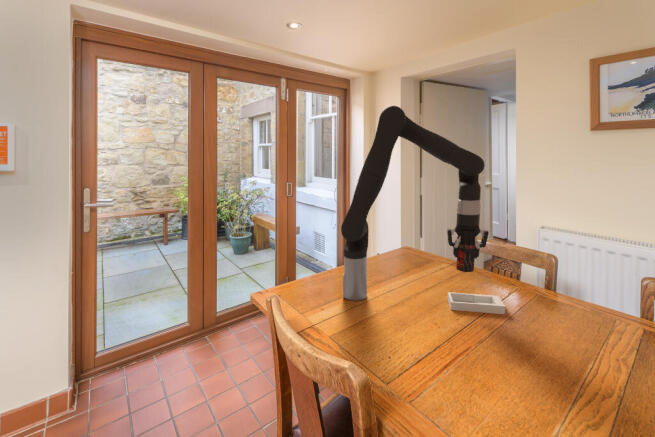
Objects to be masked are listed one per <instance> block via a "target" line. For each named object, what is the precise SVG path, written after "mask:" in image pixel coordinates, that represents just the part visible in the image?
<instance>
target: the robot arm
mask: <svg viewBox="0 0 655 437" xmlns="http://www.w3.org/2000/svg"><path fill="white" fill-rule="evenodd" d="M374 135H375V136H374V139H373V142H372V146H371V147H370V148H369V149H370V150H369V152H368V153H367V156H366V158H365V161H364V162H363V165H362V168H361V172H360V174H359V177H358V179H357V184H356V186H355V190H354V193H353V195H352V196H353V197H352V201H351V203H350V207H349V208H348V211H347V213H346V215H345V218H344V220H343V221H342V224H341V227H340V231H341V235H342V237H343V238H344V239H345V244H344V248H343V275H342V298H343V299H347V300H349V301H353V302H354V301H355V302H357V301H363V300H365V299H366V298H367V296H368V295H367V294H368V285H367V284H368V273H367V272H368V267H367V266H368V256H367V255H368V249H369V223H368V221H367V218H368V216H369V212H370V210H371V208H372V206H373V204H374V203H375V201H376V200H377V198H378V196H379V194H380V192H381V190H382V188H383V185H384V183H385V179H386V178H387V174H388V172H389V166H390V163H391V158H392V154H393V150H394V148H395V144H396V143H397V141H398V138H402V139H405V140H407V141H409V142H411V143H412V144H413V145H416V146H417V147H418V148H420V149H422V150H424V151H425V152H426V153H428V154H429V155H432V156H433V157H435V158H436V159H438V160H440V161H441V162H443V163H446V164H448V165H451V166H453V167H454V168H456V169H457V171H458V183H459V185H458V186H459V188H458V200H457V207H456V223H455V224H456V225H455V227H454V228H447V229H446V234H447V243H448V246H450V247H452V248H453V249H452V254H453V257H454V258H456V259H457V258H458V245H459V243H460V237H461V236H460V237H459V239H458V236H459V233H460V230H476V236H475V260H476V259H478V258H479V257H480V249H481V248H485V247H486V246H487V242H488V237H489V231H488V230H487V229H481V228H480V220H481V219H480V217H481V194H482V193H481V192H482V191H481V190H482V189H481V188H482V187H481V184H480V183H479V178H480V177H479V176H480V174H481V173H483V171H484V170H485V165H486V164H485V161H484V159H483V158H482V157H481V156H480V155H477V154H476V153H474V152H472V151H471V150H467V149H465V148H463V147H461V146H459V145H457V144H456V143H455V142H453V141H451V140H450V139H447V138H446V137H444V136H441V135H440V134H438V133H436V132H433V131H431V130H428V129H426V127H425V128H424V127H422V126H420V125H419V124H418V123H416V122H415V121H413V120H412V119H411V118H409V117H408V116H407V115H406V113H405V111H404V110H403V109H402V108H401V107H400V106H397V105H390V106H387V107H386V108H384V109H383V110H382V111H381V112H380V114H379V118H378V122H377V128H376V132H375V134H374ZM455 233H456V235H457V236H456V238H455V241H454V242H453V237H452V236H453V235H454V234H455ZM479 234H480V236H481V240H480V243H479V241H478V239H477V237H478V235H479Z"/></svg>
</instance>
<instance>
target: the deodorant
mask: <svg viewBox="0 0 655 437" xmlns="http://www.w3.org/2000/svg"><path fill="white" fill-rule="evenodd" d="M457 236H458V235H457ZM460 236H461V237H460ZM475 236H476V230H460V233H459V236H458V239H459V237H460V243H459V245H458V258H456V270H457V271H459V272H462V273H472V272H474V271H475V260H476V258H475ZM476 237H477V236H476Z"/></svg>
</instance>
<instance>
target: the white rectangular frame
mask: <svg viewBox="0 0 655 437" xmlns="http://www.w3.org/2000/svg"><path fill="white" fill-rule="evenodd" d="M447 301H448V305H449V309H450V310H451V311H461V312H471V313H472V312H473V313H484V314H485V313H486V314H498V315H505V314H506V305H505V303H504V302H503V301H502V299H501V297H500V295H491V294H478V293H477V294H476V293H462V292H451V291H450V292H447Z"/></svg>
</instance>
